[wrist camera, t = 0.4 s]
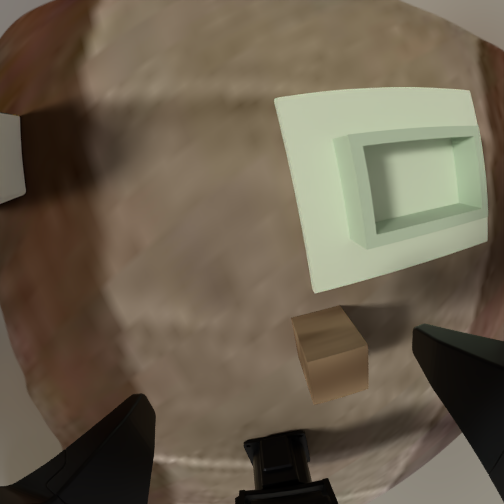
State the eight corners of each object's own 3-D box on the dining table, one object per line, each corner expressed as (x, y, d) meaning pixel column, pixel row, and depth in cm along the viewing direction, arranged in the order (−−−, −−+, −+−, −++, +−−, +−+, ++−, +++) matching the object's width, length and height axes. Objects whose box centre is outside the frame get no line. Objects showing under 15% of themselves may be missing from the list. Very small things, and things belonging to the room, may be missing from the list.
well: (482, 239, 22) (508, 249, 18) (312, 289, 22) (325, 311, 19) (464, 91, 18) (491, 85, 15) (273, 100, 18) (281, 85, 15)
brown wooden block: (343, 345, 24) (368, 388, 18) (298, 357, 24) (313, 404, 18) (339, 305, 23) (368, 344, 17) (291, 317, 23) (307, 362, 17)
